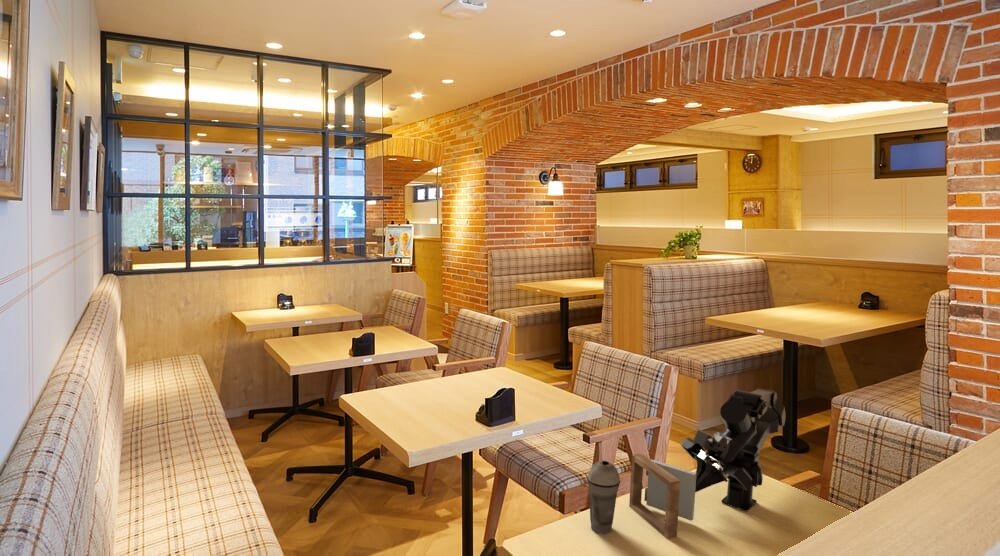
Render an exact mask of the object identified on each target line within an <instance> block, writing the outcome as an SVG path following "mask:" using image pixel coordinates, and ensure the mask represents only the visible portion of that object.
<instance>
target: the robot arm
mask: <svg viewBox="0 0 1000 556" xmlns="http://www.w3.org/2000/svg"><path fill="white" fill-rule="evenodd" d="M777 394H778V393H777V392H776V391H774V390H772V389H765V388H755V390H753V391H746V390H745V391H744V390H739V389H736V390H734V392H733V393H732V394H731V395H730V396H729V397H728V399H727V401H726V402H725V403H723V404H722V406H721V407H720V412H719V413H720V416H721V419H722V421H723V423H724V426H725V428H724V429H723V431H722V432H720V431H717V432H714V434H710V433H708V432H707V431H706V432H705V430H704V431H703V430H701V429H697V431H696V433H695V435H694V438H693V439H692V438H691V437H688V438H684V440H682V442H681V444H680V447H682V448H683V449H684V450H685V452H686V453H687V455H689V456H690V457H691V458H692V459H693V460H695V461H696V465H697V466H696V471H695V473H697V474H696V489H695V494H696V493H698V492H700V491H703V490H704V489H708V488H709V487H711V486H713V485H717V484H719V483H723V482H725V483H727V491H726V495H725V496H724V497H723V498H722V499H721V503H722V504H724V505H727V506H730V507H733V508H736V509H738V510H742V511H744V512H749V511H750V510H751V509H752V508H753V507H754V506H755V505H756V504H757V500H756V499H754V498H753V491H754V487H755V488H757V487H758V486H762V485H763V470H762V466H761V462H759V460H760V459H759V458H760V455H759V453H760V452H761V450H762V449H763V446H764V444H765V443H766V441H767V439H768V437H769V435H771V434H777V433H779V431H780V430H781V429H782V427H785V423H786V419H787V418H786V417H787V416H786V409H785V408H786V407H785V405H784V404H783V403H782V401H780V400H779V398H778V395H777Z"/></svg>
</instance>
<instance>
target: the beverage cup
mask: <svg viewBox="0 0 1000 556" xmlns="http://www.w3.org/2000/svg"><path fill="white" fill-rule="evenodd" d="M598 450H599V451H598V452H599V453H598V454H599V461H596V462H595V463H593V464H592V465H591V466H590V468H589V470H588V474H587V476H586V480H587V485H588V486H587V487H588V494H589V495H588V496H589V516H590V518H589V520H590V529H591V530H592V531H593V532H594V533H596V534H598V535H599V534H600V535H607V534H610V533H611V532H612V529H613V527H612V526H613V522H614V518H615V517H614V516H615V510H616V509H615V508H616V502H617V497H618V496H617V495H618V491H619V488H620V483H621V479H620V474H619V471H618V469H617V467H616V465H614V464H613V463H612V462H610V461H608V460H603V451H602V442H601V441H600V442H598Z"/></svg>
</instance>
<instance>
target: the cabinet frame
mask: <svg viewBox="0 0 1000 556" xmlns="http://www.w3.org/2000/svg"><path fill="white" fill-rule="evenodd" d="M630 467H631V468H630V483H629V484H630V487H629V503H628V507H629V508H630V509H632V510H633V511H634V512H635V513H636V514H637V515H639V516H640V517H641V518H642V520H645V521H646V523H648V524H649V525H651V527H652V528H654V529H655V530H656V531H657V532H658V533H660V534H661V536H662V537H664V538H666V539H667V540H669V539H674V538H677V536H678V524H679V523H678V521H679V516H678V510H679V495H680V480H679V479H677V478H676V477H674V476H673V475H671V474H670V473H668V472H667V471H666V470H664V469H663V468H661V467H660V466H658V465H657V464H655V463H654V462H653V461H651V459H650V458H648V457H647V456H645V455H644V454H642V453H636V454H632V455H631V466H630ZM644 470H645V471H646V470H647V471H648V472H650V473H651V474H652V475H654V476H655V477H656V478H658V479H659V480H661V481H662V482H663V483H665V484H666V485H667V495H666V511H664V512H665V514H664V515H665V516H664V521H663V520H662V518H660V517H659V516H657V515H656V514H655V513H654V512H652V511H651V510H650V509H649V508H648V507H647V506H645V505H644V504H643V503H642V497H643V496H642V492H643V480H644V478H643V476H644Z"/></svg>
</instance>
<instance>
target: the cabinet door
mask: <svg viewBox="0 0 1000 556" xmlns="http://www.w3.org/2000/svg"><path fill="white" fill-rule="evenodd" d="M650 460H651V461H653V462H654V463H655V464H657V465H658V466H660V467H661V468H663V469H664V470H666V471H667V472H668V473H670V474H671V475H673V476H674V477H676V478H677V479H679V480H680V495H679V510H678V518H682V519H685V520H687V521H690V522H692V521H693V520H694V518H695V517H694V516H695V501H696V500H695V499H696V493H695V489H696V474H697V473H696V471H695V472H693V471H691V470H687V469H684V468H682V467H678V466H675V465H671V464H668V463H664V462H663V461H658V460H654V459H650ZM645 476H646V477H647V486H646V487H645V488H644V501H645V502H646V506H649V507H651V508H655V509H656V510H659V511H662V512H665V511H666V495H667V485H666V484H665V483H663V482H662V481H661V480H659V479H658V478H656V477H655V476H654V475H652V474H651V473H650V472H648V471H647V470H645Z"/></svg>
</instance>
